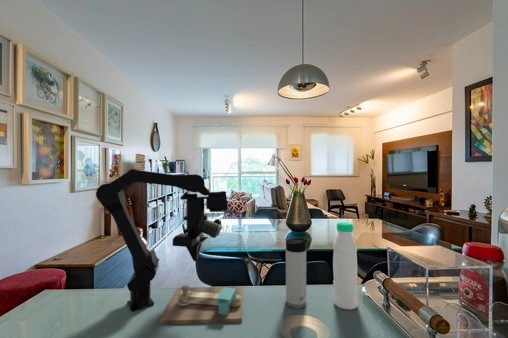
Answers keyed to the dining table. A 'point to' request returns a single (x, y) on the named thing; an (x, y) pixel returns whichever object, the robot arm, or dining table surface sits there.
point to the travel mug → (296, 272)
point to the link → (203, 297)
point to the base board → (200, 309)
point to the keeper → (222, 300)
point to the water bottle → (345, 268)
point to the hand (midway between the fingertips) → (195, 260)
